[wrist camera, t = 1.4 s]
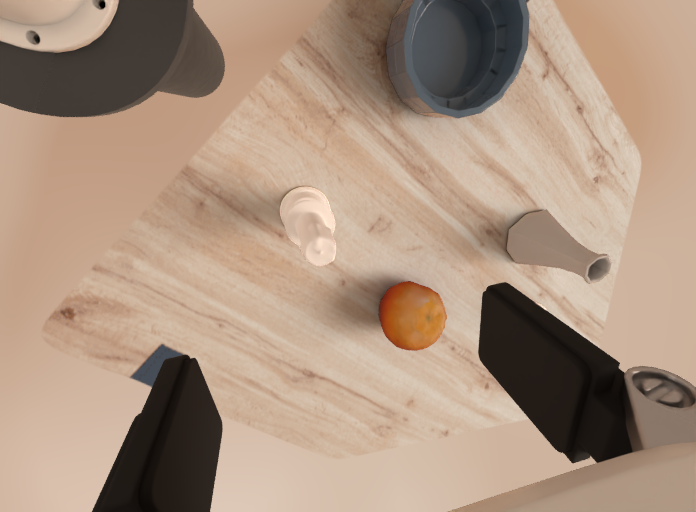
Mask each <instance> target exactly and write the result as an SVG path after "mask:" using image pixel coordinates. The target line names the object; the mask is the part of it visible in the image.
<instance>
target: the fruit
mask: <svg viewBox="0 0 696 512" xmlns="http://www.w3.org/2000/svg"><path fill="white" fill-rule="evenodd" d="M379 319H380V322H381V326H382V329H383V332H384V334H385V336H386V337H387V338H388V339H389V340H390V341H391V342H392V343H393V344H394V345H395V346H397V347H399V348H401V349H405V350H420V349H424V348H427V347H429V346H430V345H432V344H433V343H435V342H436V341H437V339H438V338H439V337H440V335H441V334H442V331H443V329H444V328H445V322H446V319H447V315H446V312H445V308H444V305H443V302H442V300H441V298H440V296H439V294H438V293H436V292H434V291H433V290H431V289H430V288H428V287H425V286H422V285H419V284H416V283H414V282H410V281H407V282H401V283H399V284H397V285H394V286H392V287H391V288H389V289H388V290H387V291H386V293H385V294H384V296H383V298H382V299H381V301H380V304H379Z"/></svg>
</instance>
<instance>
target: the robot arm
mask: <svg viewBox="0 0 696 512" xmlns="http://www.w3.org/2000/svg"><path fill="white" fill-rule="evenodd" d="M102 2H105V8H104V9H102V8H101V3H102ZM118 2H119V0H0V41H2V42H5V43H8V44H12V45H15V46H18V47H21V48H25V49H29V50H34V51H38V52H53V53H59V52H66V51H73V50H76V49H79V48H81V47H84V46H86V45H89V44H90V43H91V42H93V41H94V40H96V39H97V38H98V37H100V36H101V35H102V34H103V32H104V31H105V30H106V29H107V27H108V26H109V25H110V23H111V21H112V19H113V17H114V15H115V13H116V11H117V7H118ZM38 36H39V37H40V43H39V42H38V41H37V37H38ZM478 353H479V358H480V360H481V362H482V363H483V365H484V366H485V367H486V368H487V369H488V371H489V372H490V373H491V374H492V375H493V376H494V378H495V379H496V380H497V381H498V382H499V383H500V385H501V386H502V387H503V388H504V389H505V391H506V392H507V393H508V394H509V395H510V396H511V398H512V399H513V400H514V401H515V402H516V404H517V405H518V406H519V407H520V408H521V409H522V411H523V412H524V413H525V414H526V415H527V417H528V418H529V419H530V420H531V421H532V422H533V424H534V425H535V426H536V427H537V428H538V429H539V431H540V432H541V433H542V434H543V435H544V436H545V438H546V439H547V440H548V441H549V442H550V444H551V445H552V446H553V447H554V448H555V449H556V450H557V451H558V452H561V453H562V452H563V453H564V454H565V455H566V456H567V458H568V459H569V460H570V461H571V462H572V463H576V462H579V461H581V460H585V459H588V458H590V456H591V457H592V458H593V459H594V460H595V461H596V462H597V463H596V464H593V465H590V466H586V467H583V468H580V469H576V470H573V471H570V472H567V473H564V474H561V475H558V476H555V477H552V478H549V479H546V480H543V481H540V482H537V483H534V484H531V485H527V486H525V487H521V488H518V489H515V490H512V491H509V492H506V493H503V494H500V495H497V496H494V497H491V498H488V499H485V500H482V501H479V502H476V503H473V504H470V505H467V506H464V507H461V508H458V509H455V510H452V511H449V512H696V387H694V386H693V385H692V384H691V383H690V382H688V381H686V380H685V379H683V378H681V377H679V376H678V375H675V374H673V373H670V372H668V371H665V370H661V369H658V368H654V367H646V366H639V367H633V368H630V369H628V370H627V371H626V373H624V372H623V371H621V370H620V369H619V368H618V367H619V364H620V363H619V362H618V361H617V360H615V359H614V358H612V357H611V356H610V355H608V354H607V353H605V352H604V351H602V350H601V349H600V348H598V347H597V346H595V345H594V344H593V343H591V342H590V341H588V340H587V339H586V338H584V337H583V336H581V335H580V334H579V333H577V332H576V331H574V330H573V329H572V328H570V327H569V326H567V325H566V324H565V323H563V322H562V321H560V320H559V319H558V318H556V317H555V316H553V315H552V314H551V313H549V312H548V311H546V310H545V309H543V308H542V307H541V306H539V305H538V304H536V303H535V302H534V301H532V300H531V299H529V298H528V297H527V296H525V295H524V294H522V293H521V292H520V291H518V290H517V289H515V288H514V287H513V286H511V285H510V284H508V283H506V282H503V283H499V284H494V285H490V286H488V287H487V289H486V291H484V292H483V296H482V309H481V323H480V337H479V351H478ZM221 438H222V420H221V418H220V415H219V413H218V410H217V408H216V405H215V403H214V401H213V398H212V396H211V393H210V391H209V388H208V386H207V384H206V381H205V379H204V376H203V374H202V371H201V369H200V367H199V364H198V362H197V360H196V359H195V358H191V359H190V357H189V356H188V355H182V356H178V357H173V358H169V359H166V360H165V361H164V362H163V364H162V367H161V369H160V371H159V373H158V376H157V378H156V380H155V382H154V385H153V387H152V389H151V392H150V394H149V396H148V399H147V401H146V403H145V405H144V408H143V410H142V412H141V413H140V414H139V415H137V416H136V417H135V419H134V421H133V422H132V425H131V427H130V429H129V431H128V434H127V436H126V438H125V440H124V442H123V445H122V447H121V449H120V451H119V453H118V456H117V458H116V460H115V462H114V464H113V467H112V469H111V471H110V473H109V475H108V478H107V480H106V482H105V484H104V487H103V489H102V491H101V493H100V495H99V498H98V500H97V502H96V504H95V506H94V508H93V511H92V512H210V508H211V502H212V495H213V488H214V481H215V476H216V469H217V463H218V457H219V450H220V443H221Z"/></svg>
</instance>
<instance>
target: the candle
mask: <svg viewBox="0 0 696 512" xmlns="http://www.w3.org/2000/svg"><path fill="white" fill-rule="evenodd" d="M280 217H281V220H282V222H283V224H284V225H285V230H286V233H287V235H288V237H289V239H290V240H291V241H292V242H293V243H294V244H296V245H298V246H300V251H301V252H302V254H303V257H304V259H305V260H307V261H308V262H309V263H311V264H312V265H315V266H324V265H326V264H328V263H330V262H332V261H333V260H334V259H335V253H336V242H335V240H334V238H333V236H332V235H333V232H334V229H335V218H334V215H333V213H332V211H331V210H330V204H329V201H328V199H327V198H326V196H325V195H324V194H323V193H322V192H321V191H319V190H317V189H315V188H313V187H307V186H304V187H298V188H295V189H293V190H291V191H290V192H289V193H288V194H287V195H286V196H285V197H284V198H283V200H282V202H281V206H280Z"/></svg>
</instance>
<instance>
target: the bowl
mask: <svg viewBox="0 0 696 512" xmlns="http://www.w3.org/2000/svg"><path fill="white" fill-rule="evenodd" d="M528 34H529V11H528V8H527V4H526V0H403V2H402V4H401V5H400V7H399V9H398V10H397V12H396V14H395V16H394V17H393V19H392V22H391V26H390V31H389V36H388V41H387V45H386V55H387V64H388V73H389V78H390V80H391V82H392V84H393V86H394V88H395V90H396V92H397V94H398V96H399V98H400V99H401V100H402V101H403V102H404V103H406V104H407V105H408V106H409V107H410V108H411V109H413V110H414V111H415V112H417V113H419V114H423V115H427V116H431V117H437V118H462V117H466V116H470V115H475V114H479V113H482V112H483V111H484V110H486V109H487V108H488V107H490V106H491V105H493V104H494V103H495V102H497V101H498V100H500V99H501V98H502V97H503V95H504V94H505V92H506V91H507V90H508V88H509V87H510V85H511V84H512V83H513V81H514V80H515V79H516V77H517V76H518V73H519V70H520V68H521V65H522V62H523V59H524V56H525V53H526V50H527V46H528Z"/></svg>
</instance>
